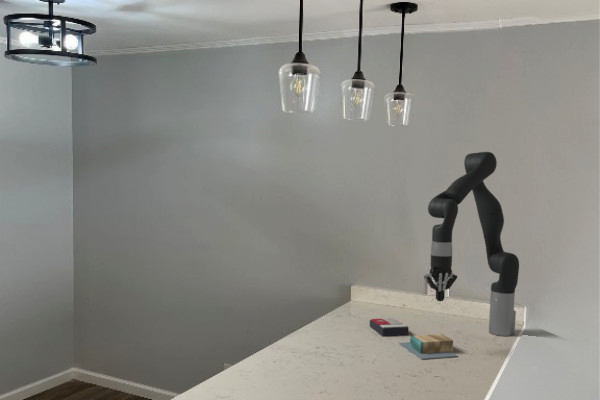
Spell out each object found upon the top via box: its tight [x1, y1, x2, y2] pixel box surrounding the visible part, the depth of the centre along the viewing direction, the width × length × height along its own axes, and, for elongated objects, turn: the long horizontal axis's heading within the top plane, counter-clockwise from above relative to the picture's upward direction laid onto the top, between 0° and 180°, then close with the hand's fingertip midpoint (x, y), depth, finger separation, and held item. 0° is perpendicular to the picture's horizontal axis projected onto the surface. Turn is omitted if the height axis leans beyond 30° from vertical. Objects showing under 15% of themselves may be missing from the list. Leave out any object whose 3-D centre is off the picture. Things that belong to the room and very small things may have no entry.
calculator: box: [369, 317, 409, 338], centre depth 242 cm, size 11×4×15 cm
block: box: [409, 333, 454, 354], centre depth 218 cm, size 4×8×13 cm
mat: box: [398, 341, 458, 360], centre depth 218 cm, size 14×18×1 cm
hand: (439, 300), depth 218 cm, fingers closed
